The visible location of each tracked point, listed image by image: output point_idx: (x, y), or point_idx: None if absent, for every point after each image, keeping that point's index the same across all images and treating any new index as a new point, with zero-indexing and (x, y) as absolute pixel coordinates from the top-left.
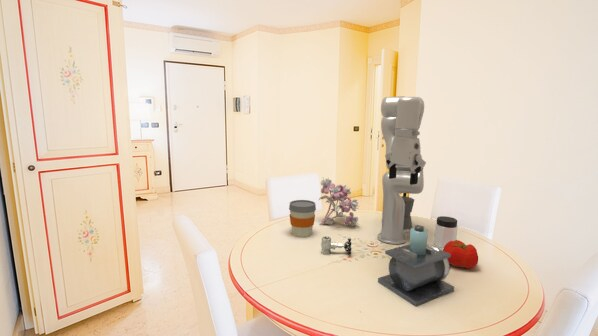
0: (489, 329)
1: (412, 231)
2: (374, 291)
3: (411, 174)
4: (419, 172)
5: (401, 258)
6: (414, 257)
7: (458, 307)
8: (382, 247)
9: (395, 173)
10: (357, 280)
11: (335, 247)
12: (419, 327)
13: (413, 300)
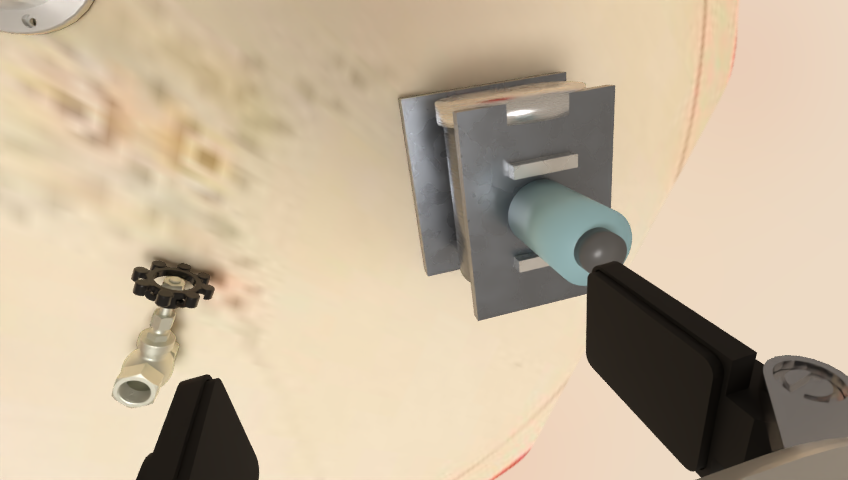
0: (697, 135)
1: (586, 284)
2: (463, 301)
3: (707, 464)
4: (806, 368)
5: (552, 300)
6: None
7: (614, 133)
8: (134, 80)
9: (211, 452)
10: (394, 320)
11: (169, 335)
12: None
13: None
